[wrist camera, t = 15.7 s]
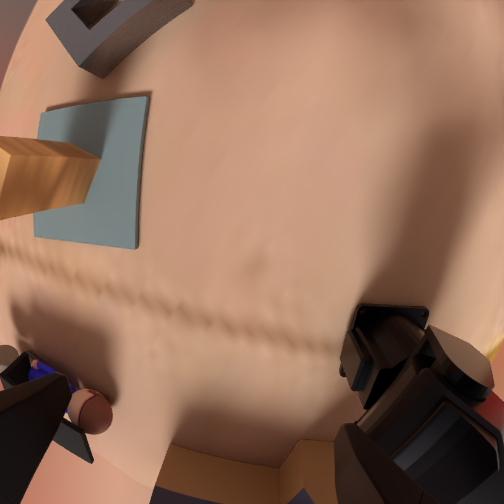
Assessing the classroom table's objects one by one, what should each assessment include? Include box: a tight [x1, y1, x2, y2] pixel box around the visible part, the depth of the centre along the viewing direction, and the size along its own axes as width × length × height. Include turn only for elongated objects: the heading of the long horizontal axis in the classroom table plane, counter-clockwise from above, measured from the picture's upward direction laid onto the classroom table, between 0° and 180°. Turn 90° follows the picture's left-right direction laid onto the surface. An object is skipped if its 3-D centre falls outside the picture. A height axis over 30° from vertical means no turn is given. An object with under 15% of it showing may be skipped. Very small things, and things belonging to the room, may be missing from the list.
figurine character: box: [0, 345, 113, 464], centre depth 21 cm, size 7×8×15 cm
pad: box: [33, 96, 150, 250], centre depth 18 cm, size 11×11×1 cm
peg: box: [0, 136, 101, 220], centre depth 14 cm, size 4×4×9 cm
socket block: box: [46, 0, 192, 79], centre depth 14 cm, size 9×9×4 cm
